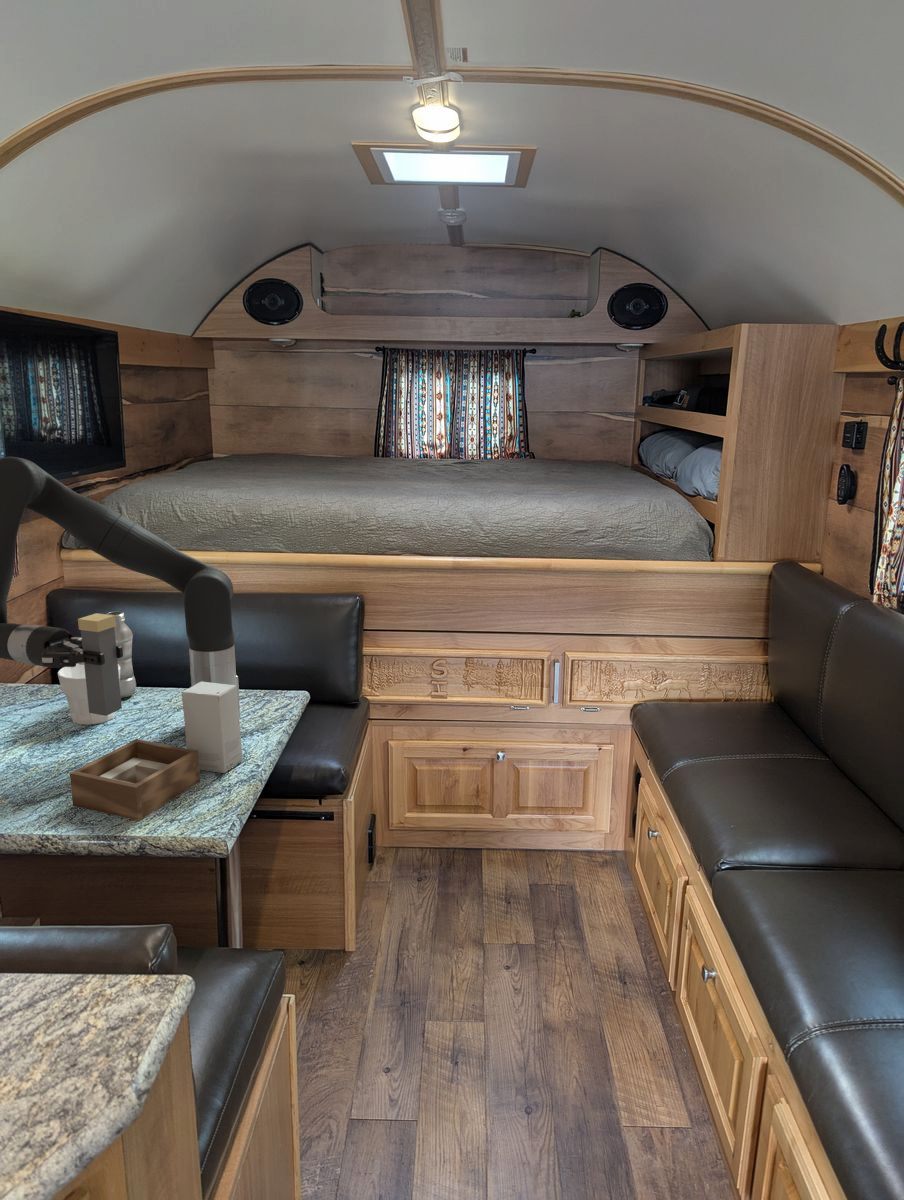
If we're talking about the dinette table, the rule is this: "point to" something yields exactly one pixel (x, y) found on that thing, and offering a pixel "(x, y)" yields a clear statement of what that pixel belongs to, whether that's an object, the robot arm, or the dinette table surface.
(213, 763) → the skincare box
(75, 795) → the walnut box
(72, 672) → the cup
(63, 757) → the dinette table surface
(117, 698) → the grey plug
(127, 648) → the plastic bottle
